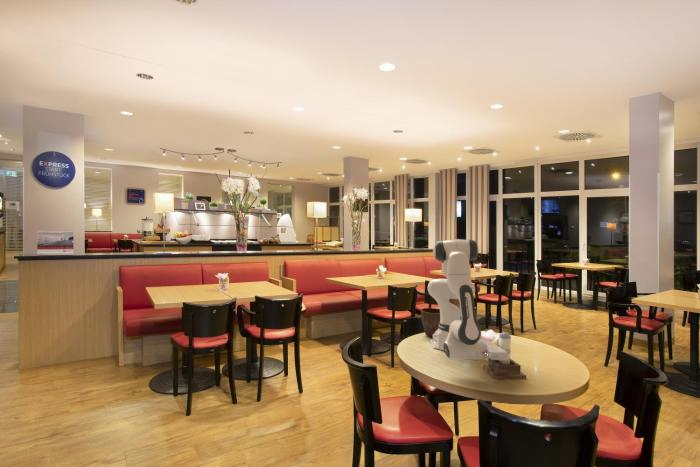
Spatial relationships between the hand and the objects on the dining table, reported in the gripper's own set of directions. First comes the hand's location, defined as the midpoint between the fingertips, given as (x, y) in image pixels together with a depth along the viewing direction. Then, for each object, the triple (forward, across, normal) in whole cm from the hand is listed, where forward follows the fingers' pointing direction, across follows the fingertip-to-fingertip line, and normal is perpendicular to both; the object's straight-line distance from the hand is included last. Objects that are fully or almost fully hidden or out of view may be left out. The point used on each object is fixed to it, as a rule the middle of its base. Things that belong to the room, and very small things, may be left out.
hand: (506, 349), depth 184 cm
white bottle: (-1, 0, +8) cm, 9 cm away
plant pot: (-15, +62, +12) cm, 65 cm away
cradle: (-1, 0, +12) cm, 12 cm away
